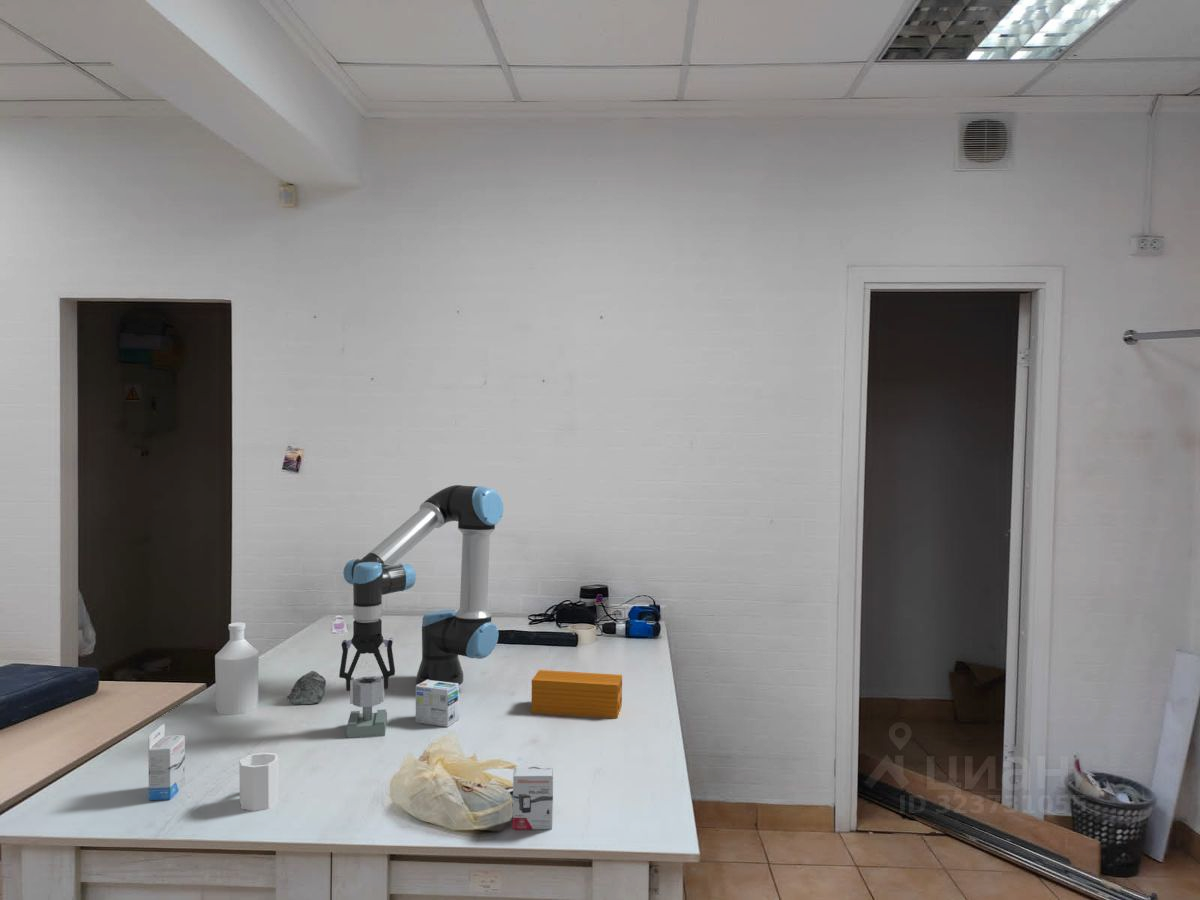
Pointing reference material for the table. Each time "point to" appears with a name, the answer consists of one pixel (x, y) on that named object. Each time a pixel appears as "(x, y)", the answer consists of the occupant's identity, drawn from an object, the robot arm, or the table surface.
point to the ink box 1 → (165, 764)
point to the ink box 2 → (532, 797)
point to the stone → (308, 689)
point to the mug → (259, 781)
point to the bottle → (236, 674)
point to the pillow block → (367, 723)
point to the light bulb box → (437, 703)
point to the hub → (367, 691)
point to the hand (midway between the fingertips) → (367, 701)
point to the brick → (577, 694)
